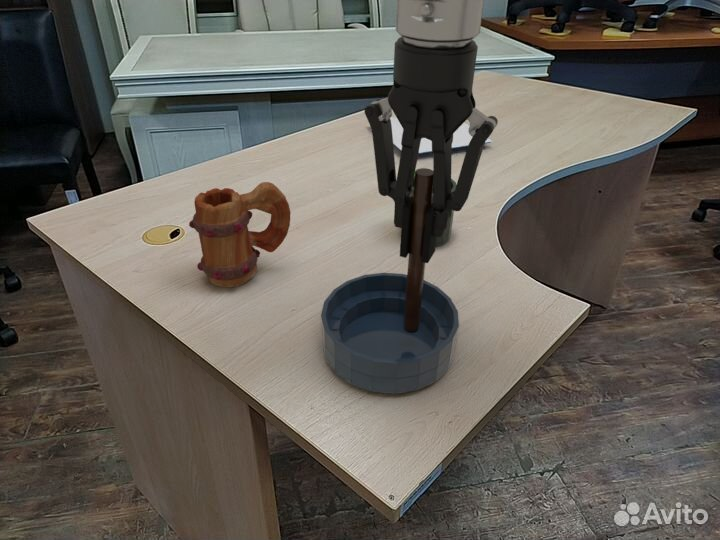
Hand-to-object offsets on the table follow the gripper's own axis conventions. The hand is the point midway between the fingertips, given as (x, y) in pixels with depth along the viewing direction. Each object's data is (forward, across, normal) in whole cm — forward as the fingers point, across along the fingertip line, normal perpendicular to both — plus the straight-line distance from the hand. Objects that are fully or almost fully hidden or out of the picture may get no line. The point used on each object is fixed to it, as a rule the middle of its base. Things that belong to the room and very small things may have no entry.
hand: (417, 253), depth 61 cm
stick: (+12, 0, 0) cm, 12 cm away
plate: (+15, -20, +71) cm, 75 cm away
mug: (+15, -28, +5) cm, 33 cm away
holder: (+15, -6, +28) cm, 32 cm away
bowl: (+15, -3, -1) cm, 15 cm away
